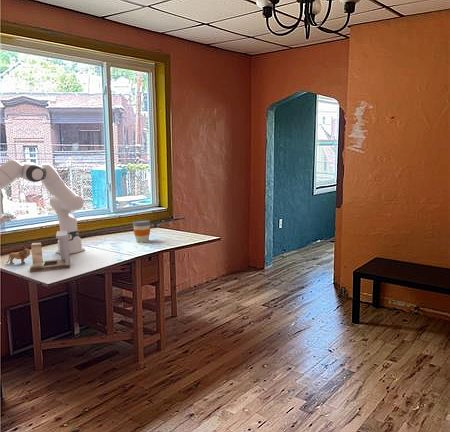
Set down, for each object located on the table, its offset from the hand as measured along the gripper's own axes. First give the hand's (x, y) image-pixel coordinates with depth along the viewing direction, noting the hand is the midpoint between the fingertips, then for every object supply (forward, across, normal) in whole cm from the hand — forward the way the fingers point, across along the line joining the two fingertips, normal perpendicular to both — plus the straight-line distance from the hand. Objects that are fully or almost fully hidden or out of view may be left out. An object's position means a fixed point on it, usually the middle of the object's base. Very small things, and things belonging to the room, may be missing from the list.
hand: (12, 218), depth 256 cm
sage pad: (+12, -2, +28) cm, 30 cm away
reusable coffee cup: (+79, +47, +30) cm, 97 cm away
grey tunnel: (+26, -2, +28) cm, 38 cm away
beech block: (+12, -2, +28) cm, 30 cm away
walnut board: (+19, -2, +30) cm, 35 cm away
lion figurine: (0, +14, +30) cm, 34 cm away
